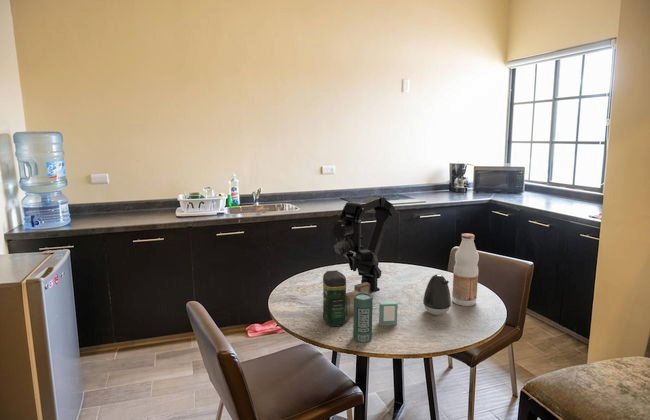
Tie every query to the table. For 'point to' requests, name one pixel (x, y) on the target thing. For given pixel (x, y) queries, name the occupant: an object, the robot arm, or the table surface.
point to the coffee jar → (334, 298)
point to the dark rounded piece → (437, 295)
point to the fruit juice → (465, 272)
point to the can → (362, 317)
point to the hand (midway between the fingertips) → (353, 270)
